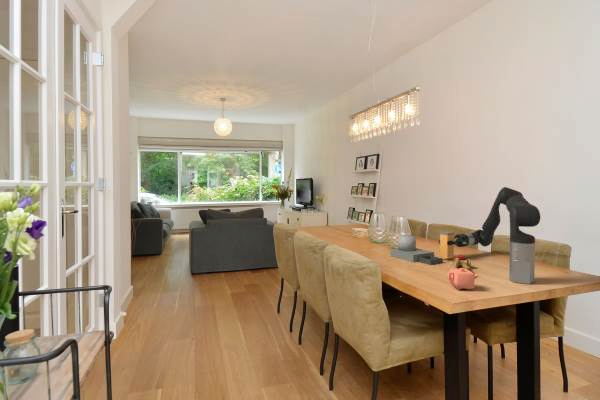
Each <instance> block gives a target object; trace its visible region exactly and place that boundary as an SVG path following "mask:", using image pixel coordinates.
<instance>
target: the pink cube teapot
mask: <svg viewBox="0 0 600 400" xmlns="http://www.w3.org/2000/svg"><path fill="white" fill-rule="evenodd" d="M479 277H480V276H479V275H478V274H477V273H473V271H472V272H471V271H469V270H467V269H464V268H463V267H460V268H450V271H447V279H448V281H449V283H450V284H451V285H452V287H454V288H456V290H457V291H461V290H462V289H463V290H464V289H466V290H467V291H471V290H473V289H475V279H477V278H479Z"/></svg>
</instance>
